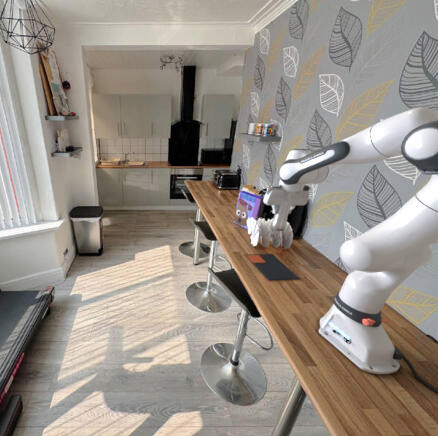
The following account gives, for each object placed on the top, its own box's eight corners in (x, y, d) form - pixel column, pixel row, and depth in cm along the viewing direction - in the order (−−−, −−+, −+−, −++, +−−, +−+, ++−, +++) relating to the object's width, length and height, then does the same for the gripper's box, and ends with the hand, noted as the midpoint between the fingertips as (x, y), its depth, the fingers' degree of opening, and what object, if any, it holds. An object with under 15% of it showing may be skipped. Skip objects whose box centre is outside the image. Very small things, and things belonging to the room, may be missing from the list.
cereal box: (233, 222, 174) (239, 191, 164) (237, 221, 176) (244, 190, 166) (252, 232, 160) (260, 198, 150) (257, 231, 162) (265, 198, 152)
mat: (299, 279, 114) (299, 278, 113) (268, 280, 112) (269, 279, 111) (272, 254, 134) (272, 253, 133) (245, 255, 132) (245, 254, 131)
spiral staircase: (288, 256, 140) (246, 251, 141) (279, 233, 152) (241, 228, 152) (305, 238, 127) (259, 233, 127) (295, 214, 138) (252, 209, 139)
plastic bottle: (286, 233, 112) (298, 193, 104) (271, 231, 113) (282, 191, 105) (282, 227, 118) (293, 189, 110) (268, 226, 119) (278, 188, 111)
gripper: (272, 187, 102) (264, 216, 108) (314, 187, 105) (305, 215, 111) (264, 183, 108) (257, 210, 114) (304, 183, 111) (295, 210, 116)
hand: (281, 213), depth 112 cm, fingers closed on plastic bottle, 5 cm apart
